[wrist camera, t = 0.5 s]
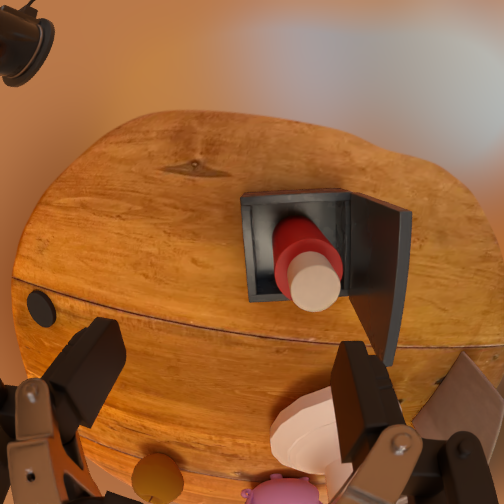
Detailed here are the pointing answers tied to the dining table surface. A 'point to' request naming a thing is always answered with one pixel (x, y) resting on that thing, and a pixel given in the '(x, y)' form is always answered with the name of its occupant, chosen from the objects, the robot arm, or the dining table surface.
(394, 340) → the box lid
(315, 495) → the teapot
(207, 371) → the dining table surface
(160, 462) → the apple
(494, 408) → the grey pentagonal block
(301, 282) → the sauce bottle
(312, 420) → the candle holder
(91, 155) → the dining table surface
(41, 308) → the black coaster
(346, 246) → the box
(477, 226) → the dining table surface
